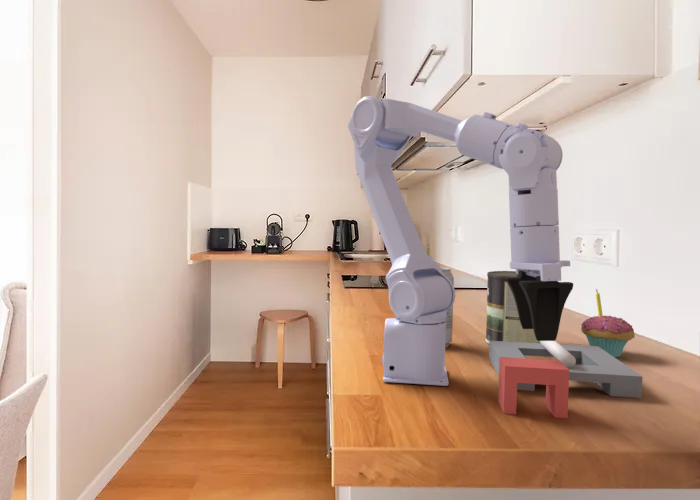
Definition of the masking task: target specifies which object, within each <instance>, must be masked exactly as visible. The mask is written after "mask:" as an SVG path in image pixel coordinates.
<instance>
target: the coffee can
mask: <svg viewBox="0 0 700 500" xmlns="http://www.w3.org/2000/svg"><path fill="white" fill-rule="evenodd" d="M486 274H487V275H486V276H487V283H486V284H487V293H486V325H485V326H486V327H485V328H486V329H485V340H484V341H485V343H487V344H488V345H489V341H506V342H525V343H540V341H537V340H536V337H535V334H534V330H533V329H523V328H522V326H521V323H520V319H519V315H518V311H517V306H516V302H515V299H514V296H513V294H512V291H511V289H510V287H509V285H508V283H507V282H506V279H505V278H506V277H517V275H518V274H517V273H516V270H494V271H493V270H491V271H487V273H486Z"/></svg>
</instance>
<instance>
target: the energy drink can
mask: <svg viewBox="0 0 700 500" xmlns="http://www.w3.org/2000/svg"><path fill="white" fill-rule="evenodd" d="M440 269H441V271H442V272H443V274H444V275H445V276H446V277H447V278H448V279H449V280H450V281H451V282H452V284H453V286H454V284H455V283H454V282H455V281H454V279H455V278H454V275H453V273H452V271H451V270H452V268H450V267H441V266H440ZM453 316H454V304H453V305H452V307H451V308H450V309H449V310H448V311H447V318H446V334H445V348H448V347H449V346H450V344H451V343H452V342H453V324H454V323H453V318H454V317H453Z"/></svg>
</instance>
